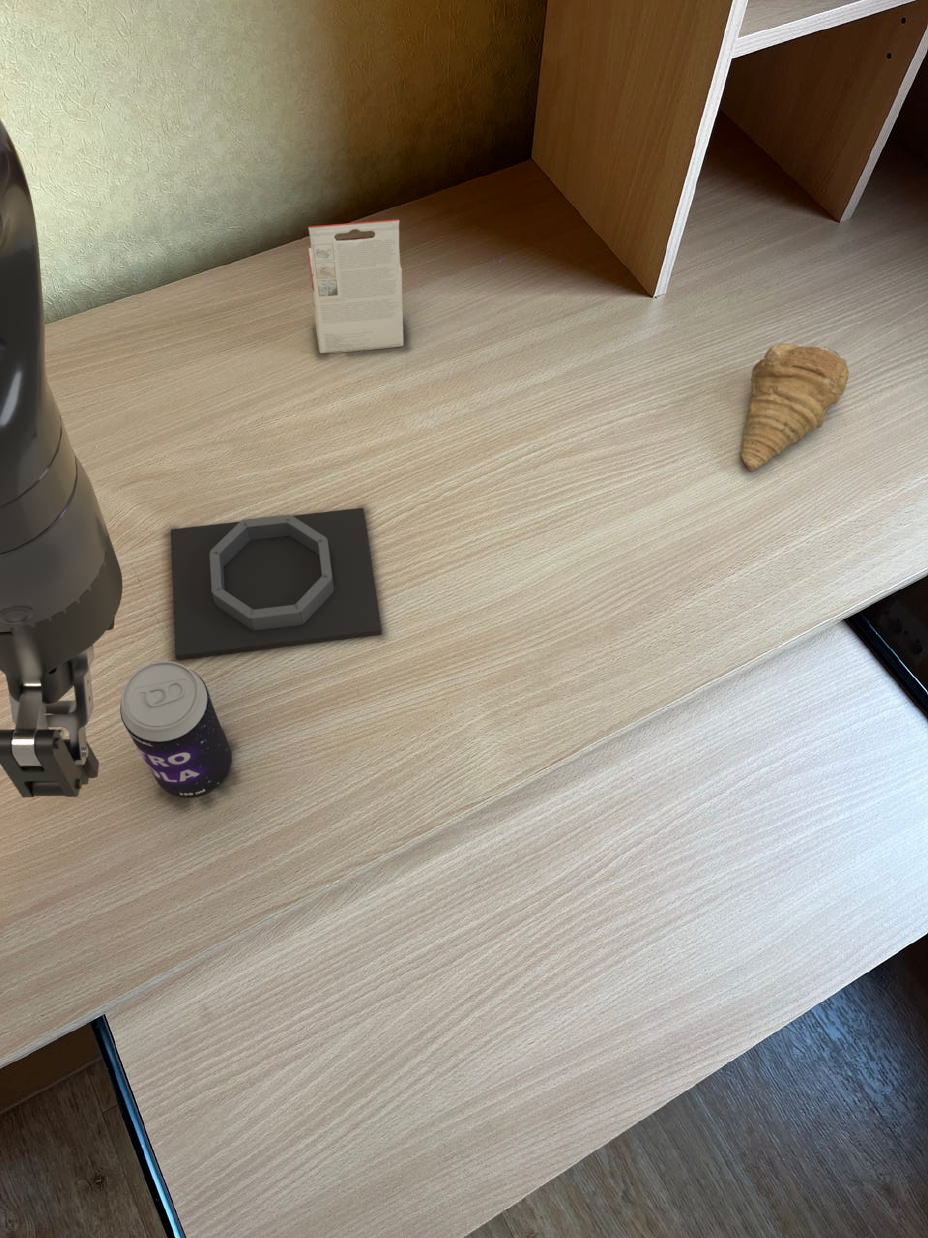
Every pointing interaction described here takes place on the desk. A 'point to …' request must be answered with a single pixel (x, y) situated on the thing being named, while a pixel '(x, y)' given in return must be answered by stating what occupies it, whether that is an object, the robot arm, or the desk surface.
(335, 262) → the ink box
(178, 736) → the beverage can
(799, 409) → the seashell
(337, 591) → the socket pad
